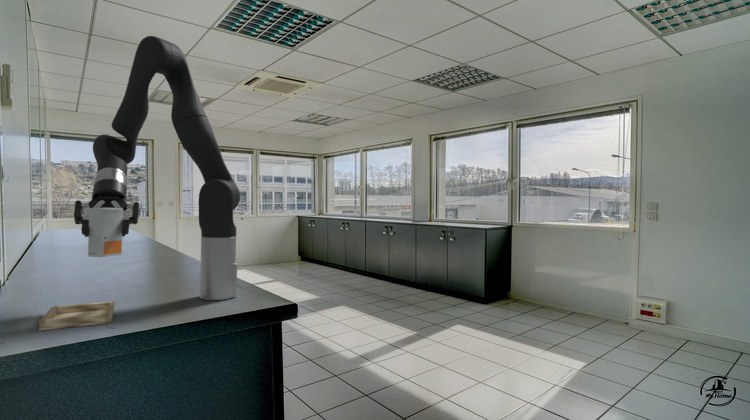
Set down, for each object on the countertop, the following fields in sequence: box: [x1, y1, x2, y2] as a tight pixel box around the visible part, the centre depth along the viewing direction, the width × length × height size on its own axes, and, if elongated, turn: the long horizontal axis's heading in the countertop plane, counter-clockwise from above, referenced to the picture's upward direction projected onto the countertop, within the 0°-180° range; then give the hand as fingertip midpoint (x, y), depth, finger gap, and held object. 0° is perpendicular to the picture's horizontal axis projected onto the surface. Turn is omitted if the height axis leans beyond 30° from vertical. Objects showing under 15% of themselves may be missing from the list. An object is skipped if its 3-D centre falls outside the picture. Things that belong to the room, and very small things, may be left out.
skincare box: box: [87, 208, 123, 258], centre depth 96 cm, size 6×4×12 cm
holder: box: [38, 300, 116, 331], centre depth 86 cm, size 12×12×2 cm
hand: (105, 234), depth 95 cm, fingers closed on skincare box, 7 cm apart
